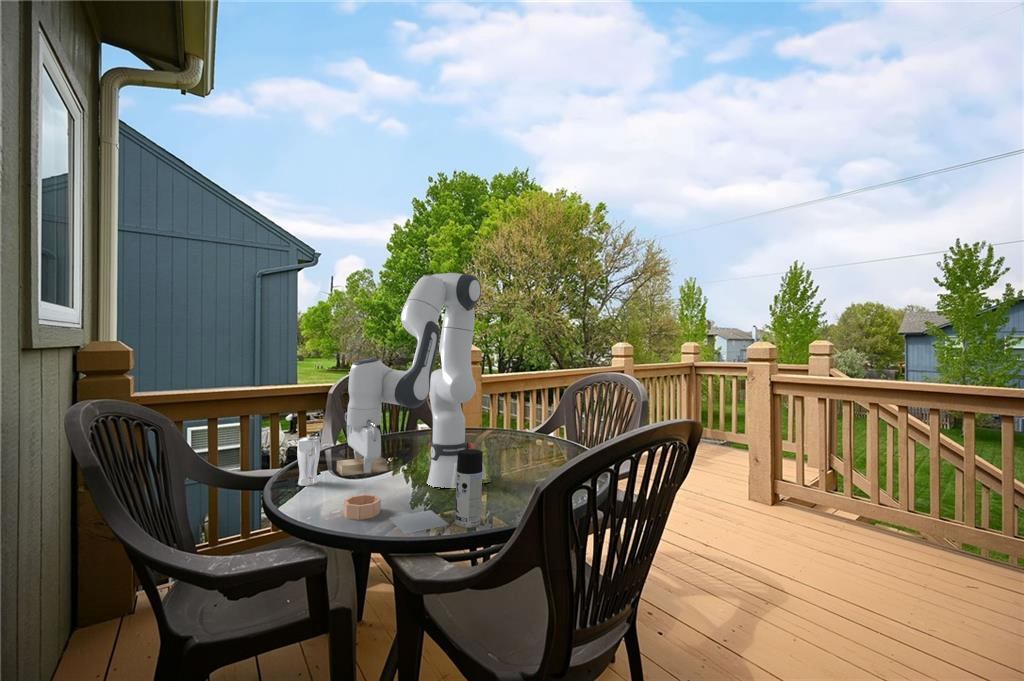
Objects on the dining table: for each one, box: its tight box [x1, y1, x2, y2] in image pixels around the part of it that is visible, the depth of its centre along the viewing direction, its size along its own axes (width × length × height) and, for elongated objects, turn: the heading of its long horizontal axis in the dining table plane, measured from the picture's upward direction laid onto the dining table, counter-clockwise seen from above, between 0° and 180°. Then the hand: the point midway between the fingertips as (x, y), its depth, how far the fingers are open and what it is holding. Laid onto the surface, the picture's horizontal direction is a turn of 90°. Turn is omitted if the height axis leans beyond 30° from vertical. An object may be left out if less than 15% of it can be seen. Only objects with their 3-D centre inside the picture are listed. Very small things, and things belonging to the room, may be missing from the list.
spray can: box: [454, 448, 484, 528], centre depth 123 cm, size 7×7×20 cm
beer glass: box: [296, 436, 321, 487], centre depth 158 cm, size 7×7×15 cm
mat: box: [388, 509, 450, 535], centre depth 123 cm, size 12×12×2 cm
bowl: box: [342, 493, 382, 521], centre depth 128 cm, size 9×9×5 cm
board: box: [336, 455, 389, 477], centre depth 128 cm, size 12×6×3 cm, turn 123°
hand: (362, 468), depth 128 cm, fingers closed on board, 6 cm apart
